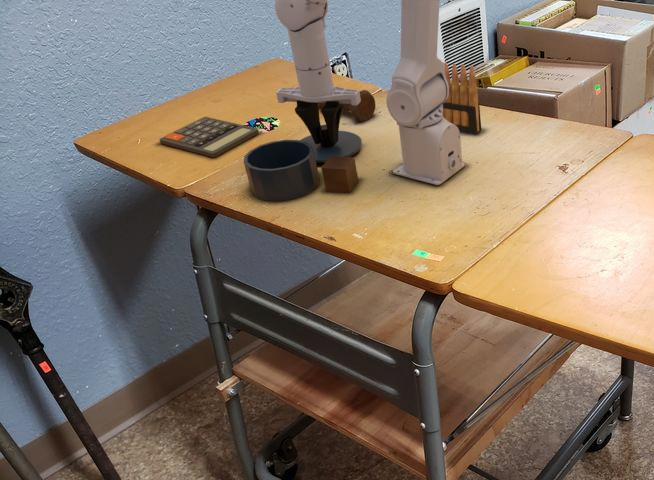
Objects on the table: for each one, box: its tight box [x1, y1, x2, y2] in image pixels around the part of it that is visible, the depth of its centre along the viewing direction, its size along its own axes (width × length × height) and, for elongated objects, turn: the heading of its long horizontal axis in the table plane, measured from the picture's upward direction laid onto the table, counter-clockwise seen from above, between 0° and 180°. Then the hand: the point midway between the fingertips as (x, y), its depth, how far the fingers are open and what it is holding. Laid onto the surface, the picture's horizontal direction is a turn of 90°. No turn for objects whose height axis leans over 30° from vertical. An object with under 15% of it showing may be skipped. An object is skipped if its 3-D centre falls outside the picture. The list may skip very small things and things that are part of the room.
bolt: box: [319, 89, 376, 122], centre depth 139 cm, size 6×5×15 cm
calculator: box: [159, 116, 260, 158], centre depth 135 cm, size 12×1×15 cm
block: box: [320, 156, 359, 194], centre depth 115 cm, size 4×4×4 cm
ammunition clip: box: [443, 61, 482, 135], centre depth 127 cm, size 11×2×12 cm, turn 60°
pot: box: [243, 139, 320, 202], centre depth 116 cm, size 11×11×5 cm
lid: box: [300, 124, 363, 164], centre depth 126 cm, size 12×12×4 cm
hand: (326, 142), depth 126 cm, fingers closed on lid, 2 cm apart
